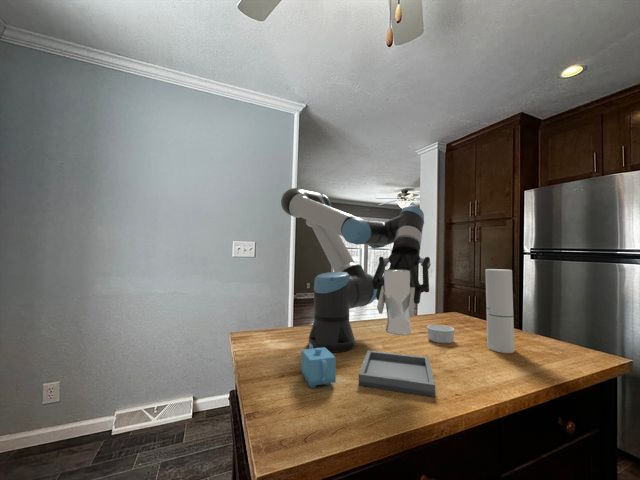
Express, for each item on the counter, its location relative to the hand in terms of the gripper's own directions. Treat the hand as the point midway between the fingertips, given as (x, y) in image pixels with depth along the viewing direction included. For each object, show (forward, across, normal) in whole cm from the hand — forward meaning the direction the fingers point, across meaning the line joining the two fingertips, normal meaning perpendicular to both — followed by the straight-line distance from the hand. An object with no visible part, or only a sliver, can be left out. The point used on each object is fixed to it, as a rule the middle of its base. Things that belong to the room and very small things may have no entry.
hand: (394, 311), depth 64 cm
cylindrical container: (-16, -24, -39) cm, 49 cm away
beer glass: (+1, 0, -6) cm, 7 cm away
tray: (+9, +1, -14) cm, 17 cm away
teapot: (+17, +17, -6) cm, 25 cm away
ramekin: (-16, -7, -40) cm, 44 cm away
